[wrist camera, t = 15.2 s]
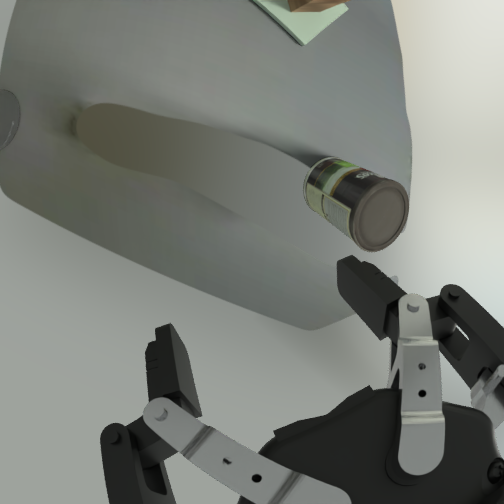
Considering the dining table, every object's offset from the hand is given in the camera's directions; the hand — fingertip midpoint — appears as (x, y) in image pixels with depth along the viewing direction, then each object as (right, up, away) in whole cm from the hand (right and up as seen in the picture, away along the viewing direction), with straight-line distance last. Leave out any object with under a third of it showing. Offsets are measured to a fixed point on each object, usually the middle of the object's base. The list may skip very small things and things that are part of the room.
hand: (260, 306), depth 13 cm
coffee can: (+13, +14, +34) cm, 38 cm away
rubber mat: (+7, +40, +16) cm, 44 cm away
